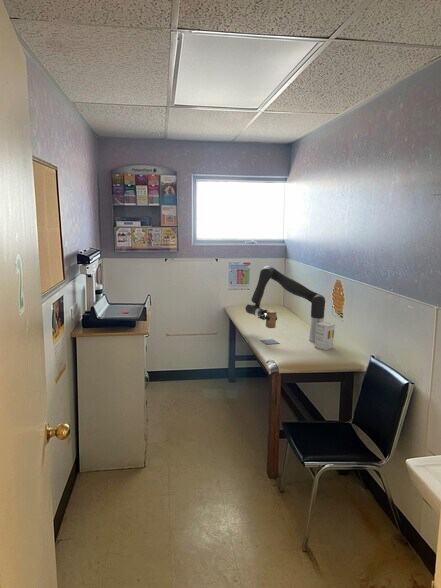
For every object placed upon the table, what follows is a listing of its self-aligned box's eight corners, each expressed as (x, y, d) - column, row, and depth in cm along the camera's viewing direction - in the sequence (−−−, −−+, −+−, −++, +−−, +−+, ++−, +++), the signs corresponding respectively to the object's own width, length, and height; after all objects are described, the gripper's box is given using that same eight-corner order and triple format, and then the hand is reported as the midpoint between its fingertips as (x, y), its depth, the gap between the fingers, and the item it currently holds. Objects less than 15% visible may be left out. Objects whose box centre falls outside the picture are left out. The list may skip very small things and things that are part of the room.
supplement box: (326, 350, 292) (328, 325, 289) (314, 347, 299) (316, 323, 296) (333, 347, 299) (335, 323, 296) (321, 344, 305) (323, 321, 303)
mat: (260, 340, 309) (260, 339, 309) (272, 339, 312) (272, 339, 312) (266, 344, 300) (266, 343, 300) (279, 343, 303) (279, 342, 303)
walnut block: (265, 326, 306) (266, 311, 304) (272, 326, 307) (273, 310, 306) (268, 328, 301) (269, 312, 299) (275, 328, 303) (276, 312, 301)
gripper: (253, 308, 313) (263, 314, 297) (271, 308, 318) (282, 313, 303) (252, 319, 314) (263, 324, 299) (270, 318, 319) (281, 323, 304)
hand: (272, 318), depth 301 cm, fingers closed on walnut block, 5 cm apart
